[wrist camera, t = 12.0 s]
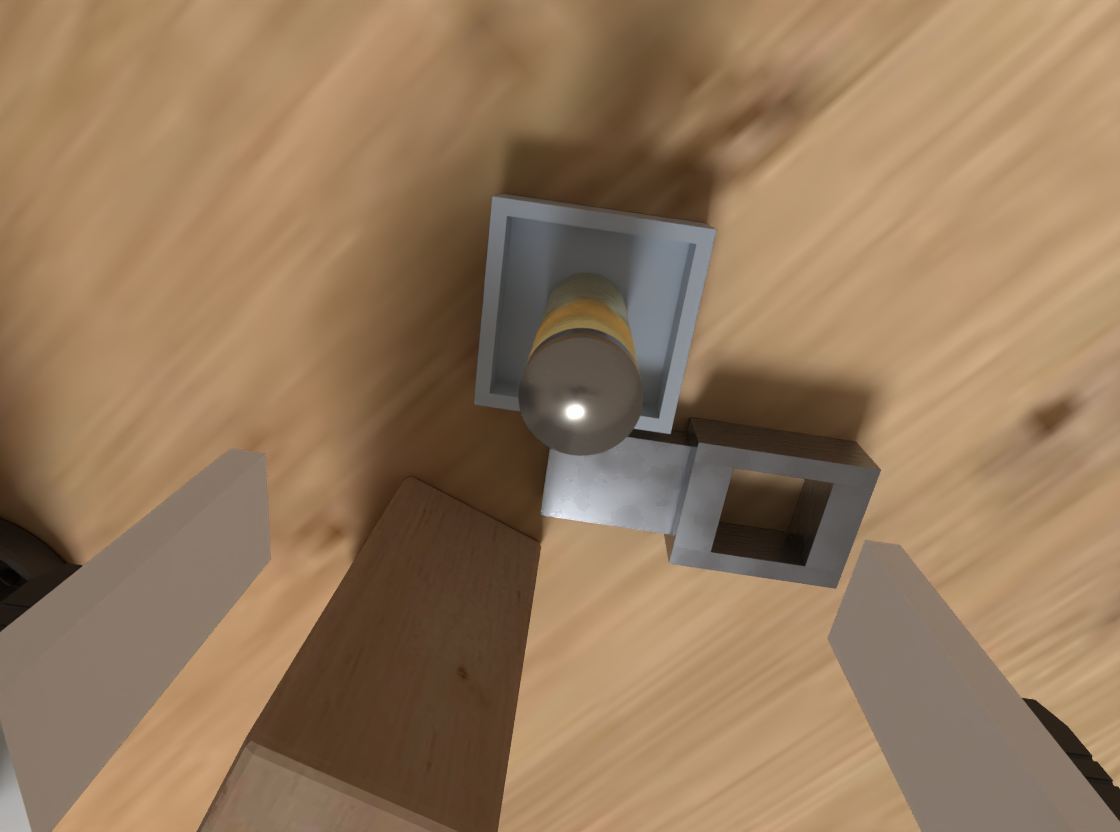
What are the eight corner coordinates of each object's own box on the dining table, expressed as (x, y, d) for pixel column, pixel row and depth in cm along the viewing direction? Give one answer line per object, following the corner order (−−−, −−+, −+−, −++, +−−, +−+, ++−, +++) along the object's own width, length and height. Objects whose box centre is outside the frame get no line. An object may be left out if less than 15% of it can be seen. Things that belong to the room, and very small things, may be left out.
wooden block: (544, 541, 41) (499, 851, 23) (476, 641, 45) (390, 978, 27) (408, 471, 40) (244, 739, 22) (349, 579, 44) (164, 890, 25)
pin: (541, 344, 35) (511, 445, 23) (552, 266, 34) (526, 329, 21) (618, 357, 35) (630, 464, 23) (632, 279, 34) (654, 349, 21)
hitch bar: (541, 511, 41) (535, 543, 37) (557, 397, 37) (553, 420, 34) (816, 553, 40) (836, 588, 37) (856, 442, 37) (880, 469, 34)
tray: (483, 386, 37) (473, 404, 35) (501, 193, 33) (492, 196, 30) (665, 413, 37) (670, 434, 35) (706, 223, 33) (716, 229, 30)
